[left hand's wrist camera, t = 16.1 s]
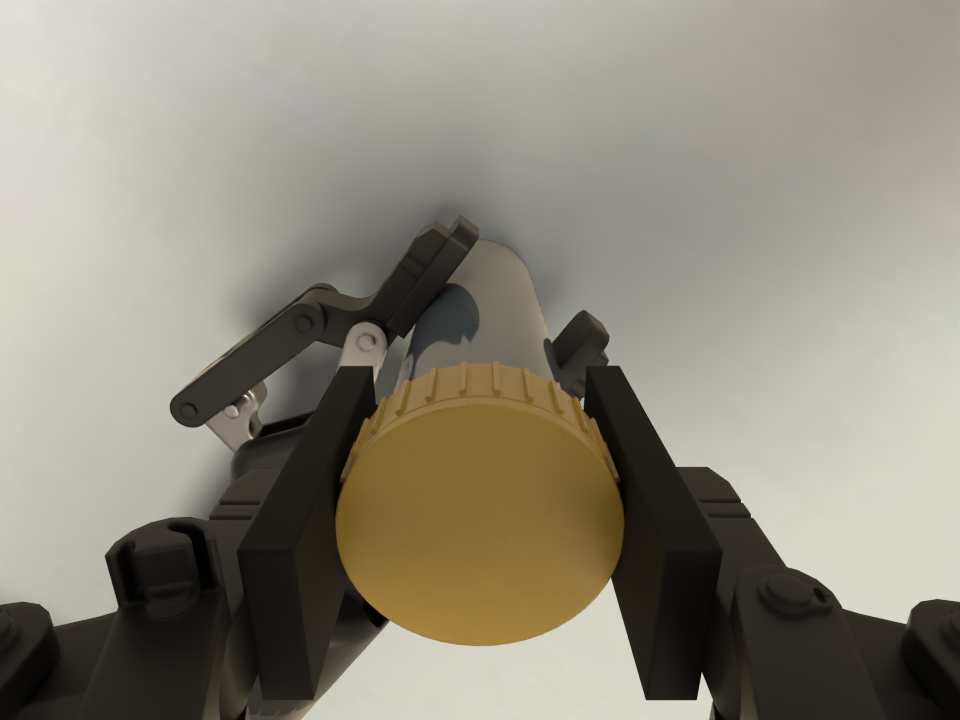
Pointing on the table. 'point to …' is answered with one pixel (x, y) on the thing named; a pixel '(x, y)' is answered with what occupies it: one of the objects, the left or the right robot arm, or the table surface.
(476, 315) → the blue-grey cylindrical container
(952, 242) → the table surface
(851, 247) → the table surface
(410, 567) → the lid
